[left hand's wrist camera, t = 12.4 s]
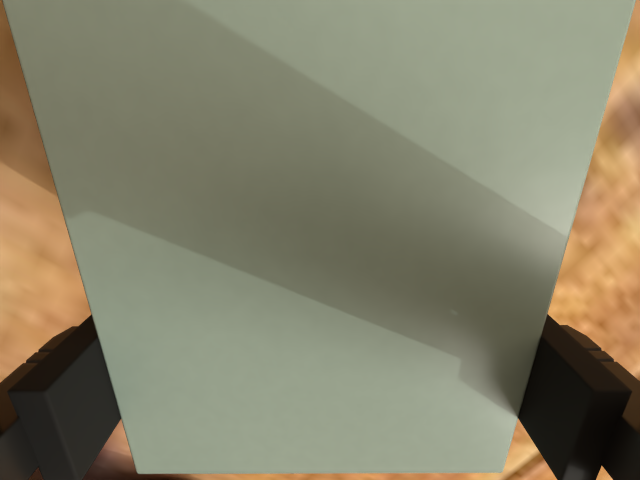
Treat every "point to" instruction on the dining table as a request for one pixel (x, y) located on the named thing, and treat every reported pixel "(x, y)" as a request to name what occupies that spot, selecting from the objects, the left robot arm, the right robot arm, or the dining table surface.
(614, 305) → the dining table surface
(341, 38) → the pale green rectangular box
